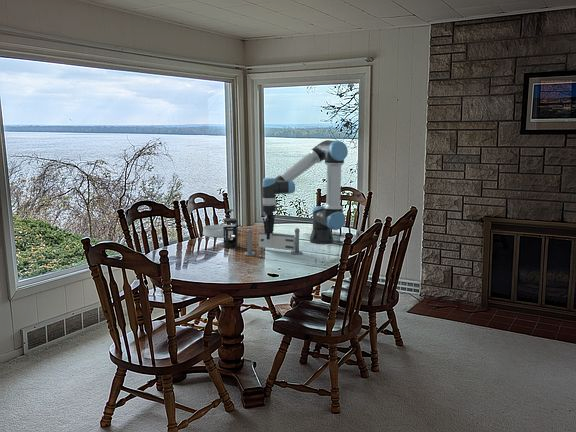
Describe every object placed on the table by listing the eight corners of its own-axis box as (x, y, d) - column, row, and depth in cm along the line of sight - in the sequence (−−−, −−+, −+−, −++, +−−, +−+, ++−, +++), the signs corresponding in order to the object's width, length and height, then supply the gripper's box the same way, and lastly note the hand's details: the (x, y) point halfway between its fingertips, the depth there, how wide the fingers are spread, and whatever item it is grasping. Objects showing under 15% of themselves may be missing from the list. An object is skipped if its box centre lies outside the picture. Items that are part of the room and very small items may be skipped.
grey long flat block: (294, 250, 313) (295, 235, 311) (292, 251, 310) (292, 236, 308) (260, 246, 323) (260, 231, 321) (258, 247, 320) (257, 232, 319)
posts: (301, 252, 314) (301, 227, 312) (302, 254, 308) (302, 229, 306) (244, 253, 311) (244, 227, 308) (244, 255, 305) (244, 229, 302)
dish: (241, 233, 371) (241, 226, 370) (222, 239, 352) (222, 231, 351) (216, 230, 382) (216, 223, 381) (196, 235, 363) (196, 228, 362)
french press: (233, 249, 321) (232, 211, 318) (219, 247, 325) (219, 210, 321) (242, 245, 332) (242, 208, 328) (229, 243, 336) (228, 207, 332)
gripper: (267, 203, 318) (267, 241, 321) (258, 205, 306) (258, 246, 309) (279, 203, 315) (279, 242, 319) (270, 206, 303) (270, 247, 307)
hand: (269, 244), depth 314 cm, fingers closed
